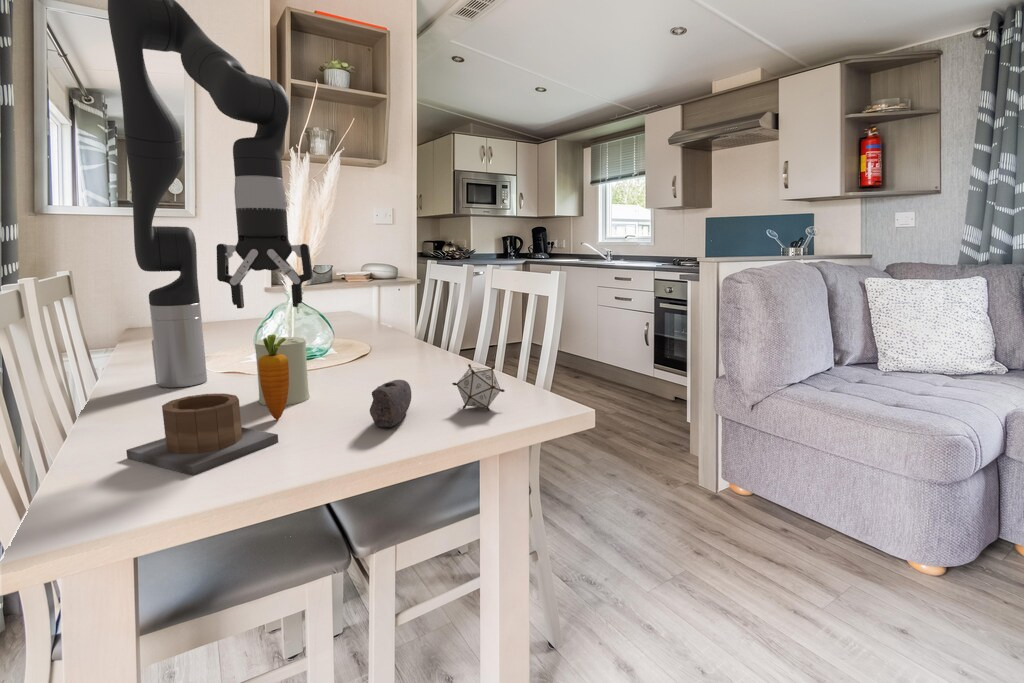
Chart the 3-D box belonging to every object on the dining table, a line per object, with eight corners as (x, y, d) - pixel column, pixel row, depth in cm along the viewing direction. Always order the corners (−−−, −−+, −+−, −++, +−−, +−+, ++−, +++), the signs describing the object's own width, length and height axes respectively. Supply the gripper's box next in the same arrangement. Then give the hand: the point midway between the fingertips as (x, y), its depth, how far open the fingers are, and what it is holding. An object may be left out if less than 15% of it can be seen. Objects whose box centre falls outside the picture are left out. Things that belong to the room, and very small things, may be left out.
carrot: (267, 415, 100) (260, 331, 97) (296, 414, 100) (290, 331, 98) (257, 424, 95) (250, 336, 92) (287, 423, 95) (281, 335, 93)
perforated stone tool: (394, 406, 106) (393, 370, 104) (421, 407, 105) (420, 371, 104) (363, 433, 91) (361, 391, 90) (395, 434, 90) (393, 392, 89)
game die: (488, 425, 106) (520, 382, 106) (471, 422, 98) (505, 376, 98) (454, 397, 109) (485, 355, 109) (435, 392, 102) (468, 347, 101)
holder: (127, 458, 80) (121, 408, 79) (215, 429, 93) (211, 386, 91) (193, 475, 74) (187, 422, 73) (278, 441, 87) (275, 396, 85)
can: (292, 407, 105) (288, 343, 103) (248, 404, 107) (243, 341, 105) (318, 394, 114) (315, 335, 112) (277, 392, 116) (273, 334, 114)
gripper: (206, 205, 86) (216, 311, 89) (305, 206, 90) (311, 308, 92) (218, 208, 93) (227, 306, 96) (310, 209, 97) (315, 304, 100)
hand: (268, 307), depth 94 cm, fingers open, 8 cm apart
